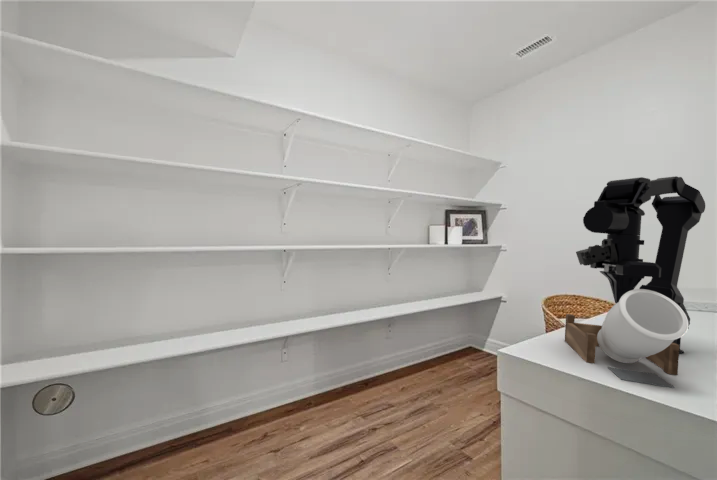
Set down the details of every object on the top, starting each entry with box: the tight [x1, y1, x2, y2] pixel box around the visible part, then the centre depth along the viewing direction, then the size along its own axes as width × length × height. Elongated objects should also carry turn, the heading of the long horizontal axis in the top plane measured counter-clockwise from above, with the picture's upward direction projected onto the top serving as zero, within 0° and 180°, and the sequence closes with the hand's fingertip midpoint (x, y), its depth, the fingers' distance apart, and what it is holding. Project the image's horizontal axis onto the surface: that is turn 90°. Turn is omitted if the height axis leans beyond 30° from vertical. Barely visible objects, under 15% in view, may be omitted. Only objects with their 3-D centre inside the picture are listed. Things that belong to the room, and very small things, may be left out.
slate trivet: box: [607, 366, 676, 389], centre depth 62 cm, size 8×6×1 cm
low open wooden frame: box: [564, 313, 680, 376], centre depth 73 cm, size 16×15×7 cm
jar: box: [597, 288, 690, 364], centre depth 66 cm, size 11×10×15 cm
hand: (618, 304), depth 72 cm, fingers closed
